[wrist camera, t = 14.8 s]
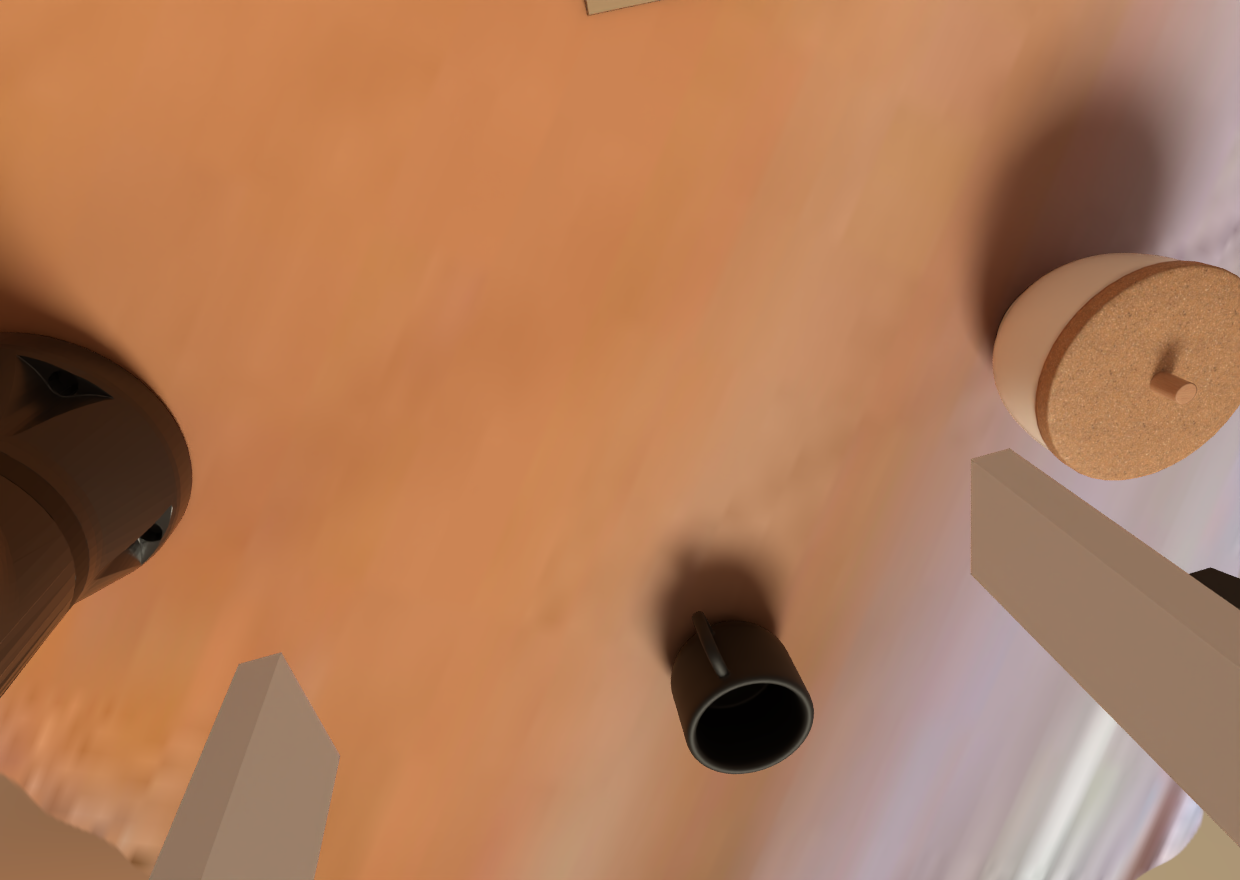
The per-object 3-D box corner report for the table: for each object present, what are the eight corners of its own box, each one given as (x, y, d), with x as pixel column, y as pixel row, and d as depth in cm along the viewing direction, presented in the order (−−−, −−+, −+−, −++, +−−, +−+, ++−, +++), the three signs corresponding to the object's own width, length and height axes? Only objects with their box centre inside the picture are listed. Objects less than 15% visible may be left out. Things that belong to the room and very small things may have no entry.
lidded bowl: (1106, 413, 52) (1247, 490, 43) (939, 424, 51) (1046, 507, 41) (1163, 229, 47) (1340, 269, 37) (978, 235, 45) (1112, 277, 35)
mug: (795, 669, 59) (831, 741, 52) (691, 717, 59) (715, 794, 53) (743, 560, 53) (776, 625, 47) (629, 613, 54) (647, 685, 47)
